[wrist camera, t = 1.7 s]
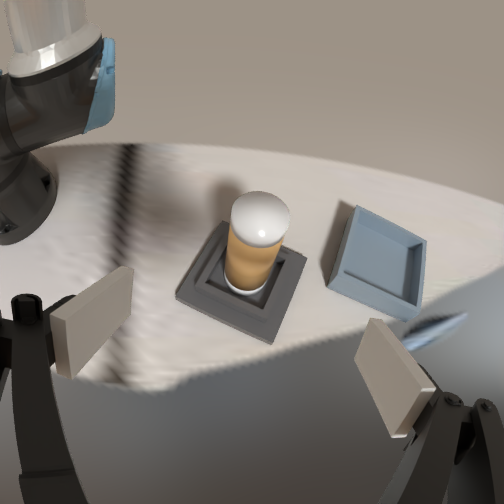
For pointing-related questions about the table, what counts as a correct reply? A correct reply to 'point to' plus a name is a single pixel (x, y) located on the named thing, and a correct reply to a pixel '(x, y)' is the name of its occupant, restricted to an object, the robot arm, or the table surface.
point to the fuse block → (236, 306)
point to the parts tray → (380, 265)
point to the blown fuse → (254, 240)
